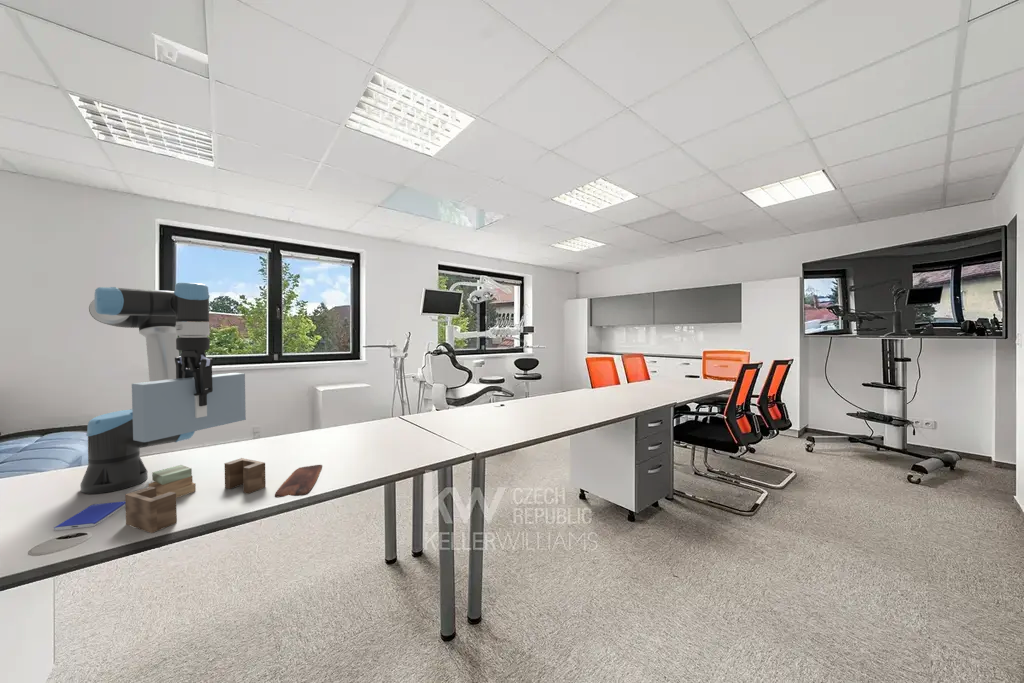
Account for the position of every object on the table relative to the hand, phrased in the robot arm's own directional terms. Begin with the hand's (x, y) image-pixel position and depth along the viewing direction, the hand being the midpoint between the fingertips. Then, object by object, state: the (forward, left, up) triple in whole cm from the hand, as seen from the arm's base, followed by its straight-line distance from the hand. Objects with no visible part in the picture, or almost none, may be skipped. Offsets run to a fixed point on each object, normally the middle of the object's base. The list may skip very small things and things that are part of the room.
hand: (194, 415), depth 112 cm
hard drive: (-16, -16, -27) cm, 35 cm away
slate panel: (0, 0, -4) cm, 4 cm away
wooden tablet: (+14, +24, -27) cm, 38 cm away
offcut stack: (-12, 0, -26) cm, 28 cm away
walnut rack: (+3, 0, -26) cm, 26 cm away
